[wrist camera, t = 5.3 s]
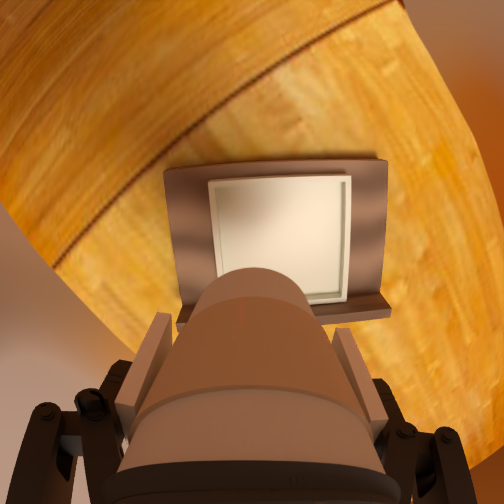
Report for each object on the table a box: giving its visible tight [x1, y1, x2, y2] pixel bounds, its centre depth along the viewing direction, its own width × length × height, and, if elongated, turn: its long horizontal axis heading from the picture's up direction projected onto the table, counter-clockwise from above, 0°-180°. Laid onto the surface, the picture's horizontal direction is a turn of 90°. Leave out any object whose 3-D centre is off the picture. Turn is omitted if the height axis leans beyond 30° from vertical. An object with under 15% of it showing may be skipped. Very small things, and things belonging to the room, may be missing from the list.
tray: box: [208, 173, 351, 305], centre depth 34 cm, size 14×14×2 cm
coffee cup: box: [101, 267, 401, 504], centre depth 11 cm, size 9×9×15 cm
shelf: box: [163, 158, 392, 332], centre depth 34 cm, size 17×24×7 cm
